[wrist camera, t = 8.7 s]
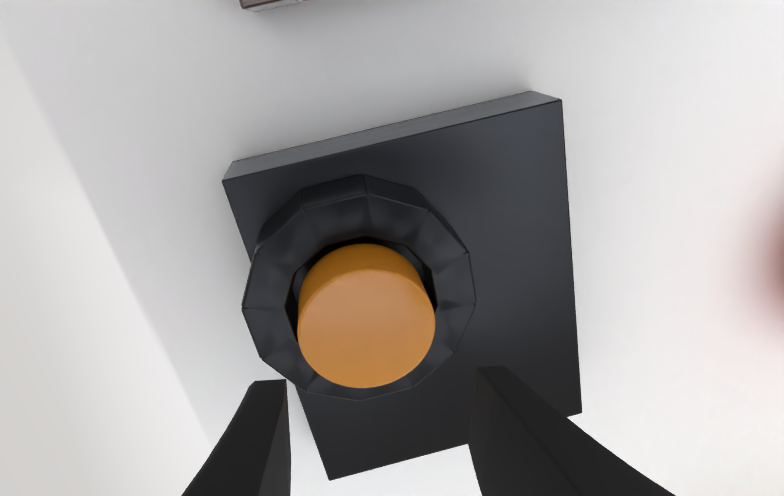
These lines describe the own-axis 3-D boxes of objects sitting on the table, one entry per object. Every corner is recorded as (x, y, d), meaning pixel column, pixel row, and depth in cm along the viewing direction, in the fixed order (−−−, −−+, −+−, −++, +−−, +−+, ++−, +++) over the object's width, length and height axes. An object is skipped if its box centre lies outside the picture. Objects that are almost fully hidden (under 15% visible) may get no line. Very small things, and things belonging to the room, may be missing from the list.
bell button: (317, 364, 16) (318, 403, 14) (282, 260, 14) (279, 290, 13) (432, 335, 16) (446, 369, 14) (410, 228, 14) (422, 254, 13)
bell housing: (321, 440, 21) (323, 525, 18) (224, 163, 16) (199, 203, 13) (558, 377, 22) (607, 448, 18) (533, 90, 17) (593, 108, 13)
